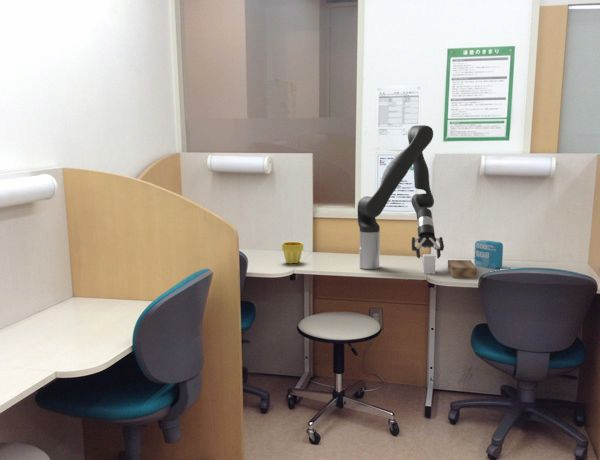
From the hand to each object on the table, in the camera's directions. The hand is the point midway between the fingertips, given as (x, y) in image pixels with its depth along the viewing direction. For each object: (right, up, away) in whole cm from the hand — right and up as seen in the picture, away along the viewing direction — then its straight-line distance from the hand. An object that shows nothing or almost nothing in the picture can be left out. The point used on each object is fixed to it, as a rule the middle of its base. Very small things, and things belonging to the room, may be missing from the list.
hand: (428, 257), depth 264 cm
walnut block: (+14, -7, -4) cm, 16 cm away
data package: (+30, -5, +10) cm, 32 cm away
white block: (0, -7, 0) cm, 7 cm away
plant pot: (-61, -4, +25) cm, 66 cm away
